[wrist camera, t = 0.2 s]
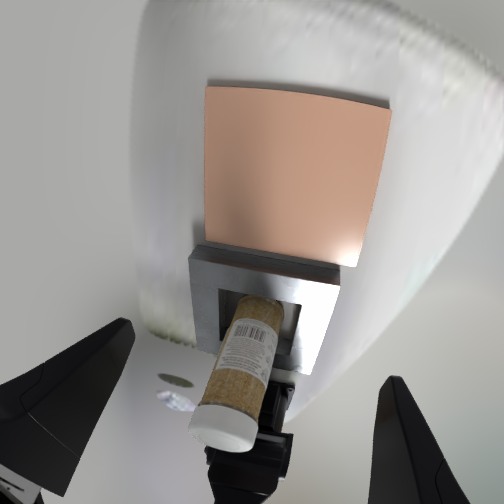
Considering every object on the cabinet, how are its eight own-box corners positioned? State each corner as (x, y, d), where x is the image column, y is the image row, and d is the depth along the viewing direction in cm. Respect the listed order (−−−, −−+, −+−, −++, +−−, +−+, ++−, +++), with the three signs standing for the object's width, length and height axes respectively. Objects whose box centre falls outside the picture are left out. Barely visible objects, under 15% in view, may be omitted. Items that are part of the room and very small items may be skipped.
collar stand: (311, 359, 30) (309, 374, 29) (203, 336, 32) (197, 349, 30) (340, 270, 23) (340, 286, 22) (197, 244, 25) (188, 257, 24)
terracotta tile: (354, 262, 23) (355, 267, 22) (208, 236, 25) (205, 240, 24) (390, 109, 16) (392, 110, 15) (208, 86, 18) (205, 86, 17)
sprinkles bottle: (231, 314, 29) (181, 437, 18) (247, 283, 26) (192, 420, 16) (274, 332, 29) (239, 458, 18) (294, 304, 26) (262, 445, 16)
